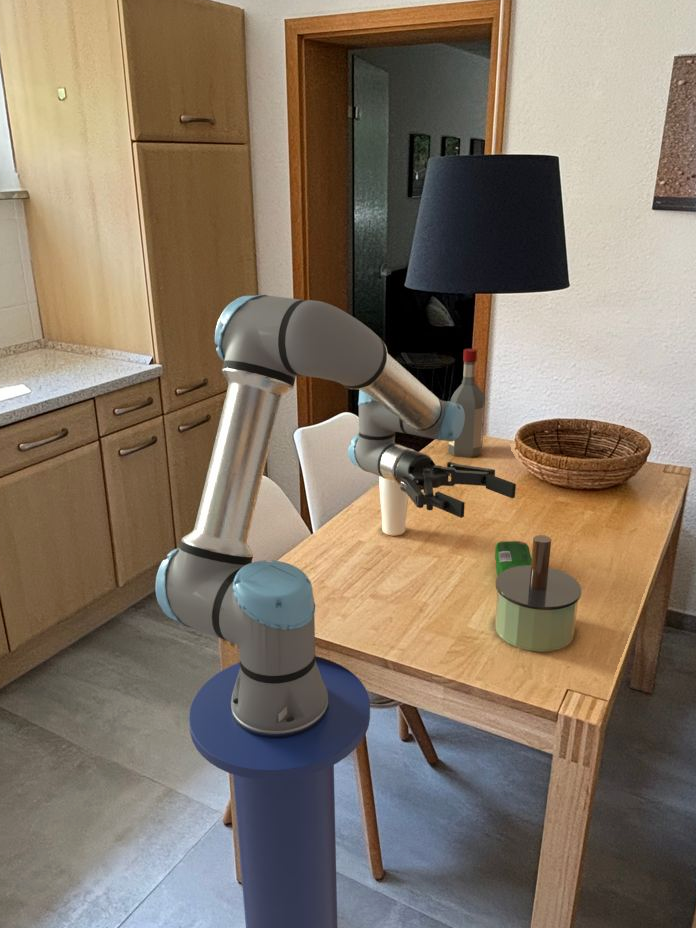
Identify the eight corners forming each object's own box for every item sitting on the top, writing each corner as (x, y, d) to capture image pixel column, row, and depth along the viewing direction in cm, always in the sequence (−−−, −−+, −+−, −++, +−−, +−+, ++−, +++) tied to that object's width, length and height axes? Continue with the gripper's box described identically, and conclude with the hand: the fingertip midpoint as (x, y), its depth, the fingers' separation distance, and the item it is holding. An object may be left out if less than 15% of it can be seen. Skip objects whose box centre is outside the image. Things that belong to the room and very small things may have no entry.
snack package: (496, 593, 150) (498, 570, 148) (492, 556, 164) (494, 534, 162) (534, 596, 149) (536, 572, 147) (526, 558, 163) (528, 535, 161)
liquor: (482, 448, 228) (488, 347, 217) (479, 458, 220) (484, 354, 209) (452, 445, 230) (456, 345, 219) (447, 455, 222) (451, 352, 211)
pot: (485, 639, 135) (488, 597, 132) (507, 603, 146) (510, 563, 143) (563, 659, 129) (568, 616, 126) (580, 620, 141) (585, 579, 137)
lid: (484, 601, 132) (487, 547, 128) (508, 564, 144) (512, 514, 140) (570, 621, 126) (576, 566, 122) (588, 581, 138) (594, 530, 134)
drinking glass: (375, 536, 174) (375, 474, 168) (383, 523, 180) (383, 463, 174) (404, 539, 172) (405, 477, 166) (411, 527, 178) (413, 466, 172)
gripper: (451, 471, 162) (532, 502, 147) (360, 501, 147) (438, 538, 132) (453, 437, 159) (535, 465, 144) (359, 464, 145) (440, 498, 129)
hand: (489, 500), depth 138 cm, fingers open, 13 cm apart
